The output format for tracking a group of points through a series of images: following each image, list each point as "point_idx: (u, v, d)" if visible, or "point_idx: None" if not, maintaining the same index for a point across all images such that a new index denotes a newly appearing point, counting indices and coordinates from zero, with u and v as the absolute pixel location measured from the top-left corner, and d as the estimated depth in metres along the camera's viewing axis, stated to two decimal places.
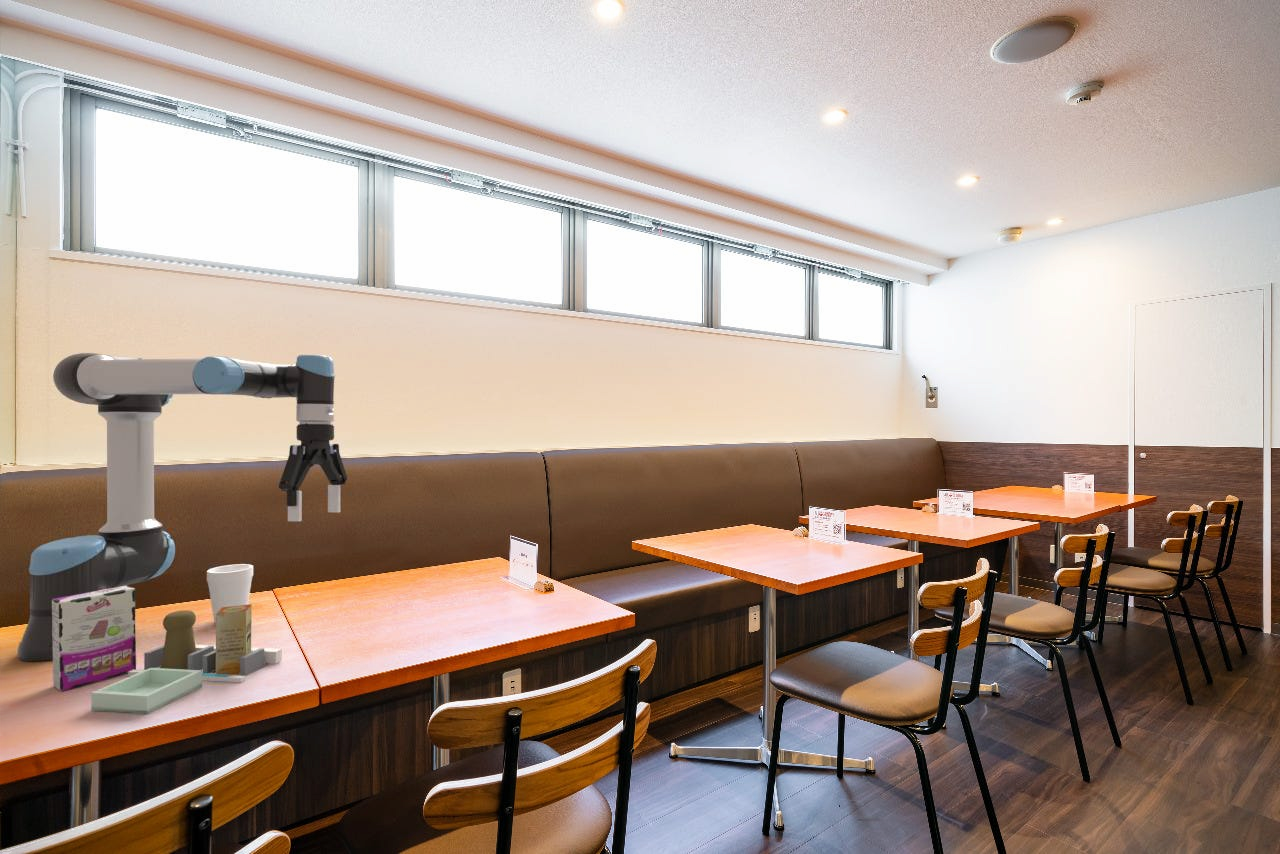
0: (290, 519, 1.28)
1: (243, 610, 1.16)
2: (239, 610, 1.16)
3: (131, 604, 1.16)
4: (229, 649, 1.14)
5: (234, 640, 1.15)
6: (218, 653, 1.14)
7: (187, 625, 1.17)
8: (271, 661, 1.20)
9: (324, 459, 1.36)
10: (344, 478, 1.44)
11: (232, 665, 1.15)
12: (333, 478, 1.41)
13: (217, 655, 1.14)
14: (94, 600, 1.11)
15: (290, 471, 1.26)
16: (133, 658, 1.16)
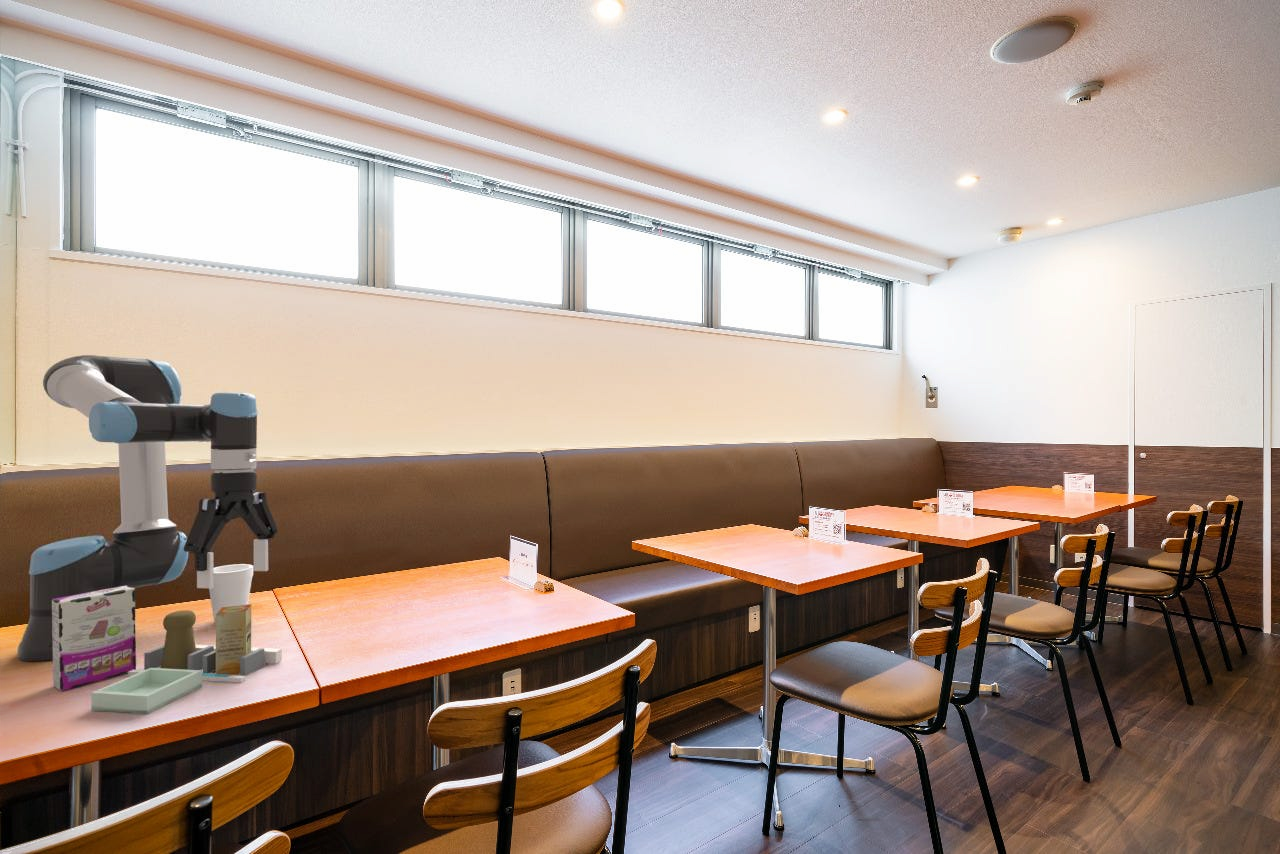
0: (200, 586, 1.10)
1: (243, 610, 1.16)
2: (239, 610, 1.16)
3: (131, 604, 1.16)
4: (228, 649, 1.14)
5: (234, 640, 1.15)
6: (218, 653, 1.14)
7: (187, 625, 1.17)
8: (271, 661, 1.20)
9: (245, 512, 1.18)
10: (273, 531, 1.26)
11: (232, 665, 1.15)
12: (259, 532, 1.23)
13: (217, 655, 1.14)
14: (94, 600, 1.11)
15: (198, 530, 1.08)
16: (133, 658, 1.16)
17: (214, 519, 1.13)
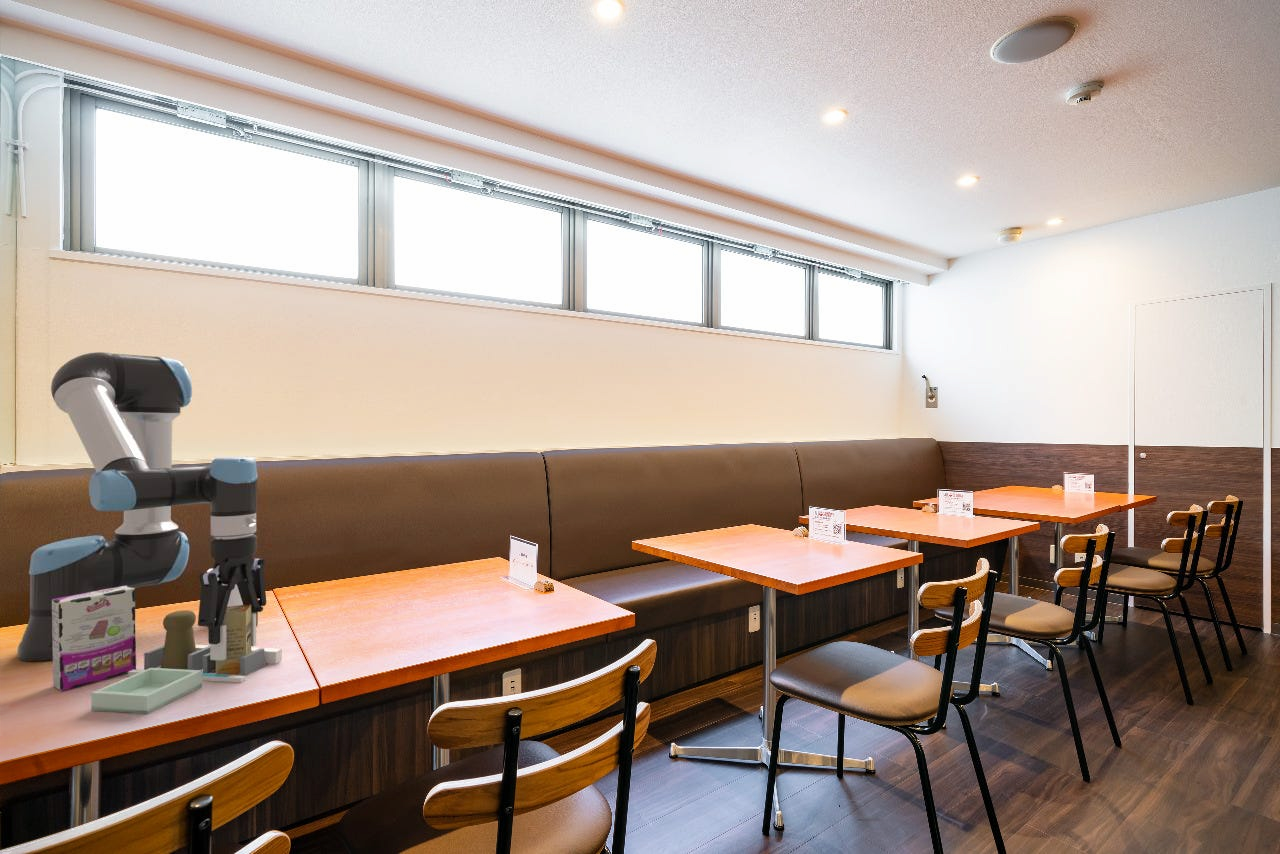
0: (213, 657, 1.13)
1: (243, 610, 1.16)
2: (239, 610, 1.16)
3: (131, 604, 1.16)
4: (228, 649, 1.14)
5: (234, 640, 1.15)
6: None
7: (186, 625, 1.17)
8: (271, 661, 1.20)
9: (245, 575, 1.18)
10: (262, 602, 1.23)
11: (232, 665, 1.15)
12: (249, 603, 1.20)
13: None
14: (94, 600, 1.11)
15: (207, 606, 1.10)
16: (133, 658, 1.16)
17: (218, 589, 1.14)
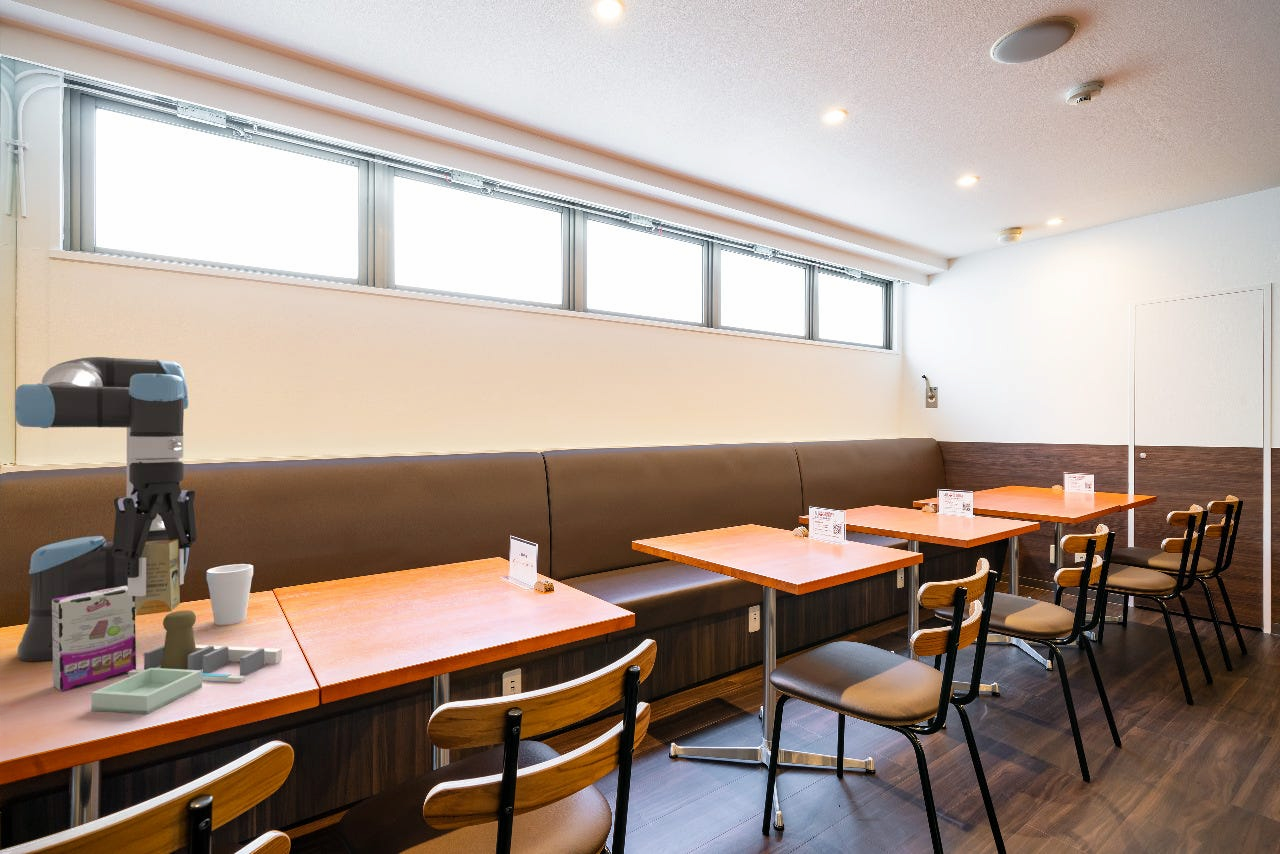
0: (131, 593, 1.02)
1: (166, 543, 1.05)
2: (162, 543, 1.05)
3: (131, 604, 1.16)
4: (150, 585, 1.03)
5: (156, 575, 1.04)
6: None
7: (187, 625, 1.17)
8: (271, 661, 1.20)
9: (170, 506, 1.07)
10: (191, 538, 1.11)
11: (155, 602, 1.03)
12: (175, 537, 1.09)
13: None
14: (94, 600, 1.11)
15: (122, 534, 0.99)
16: (133, 658, 1.16)
17: (137, 518, 1.03)
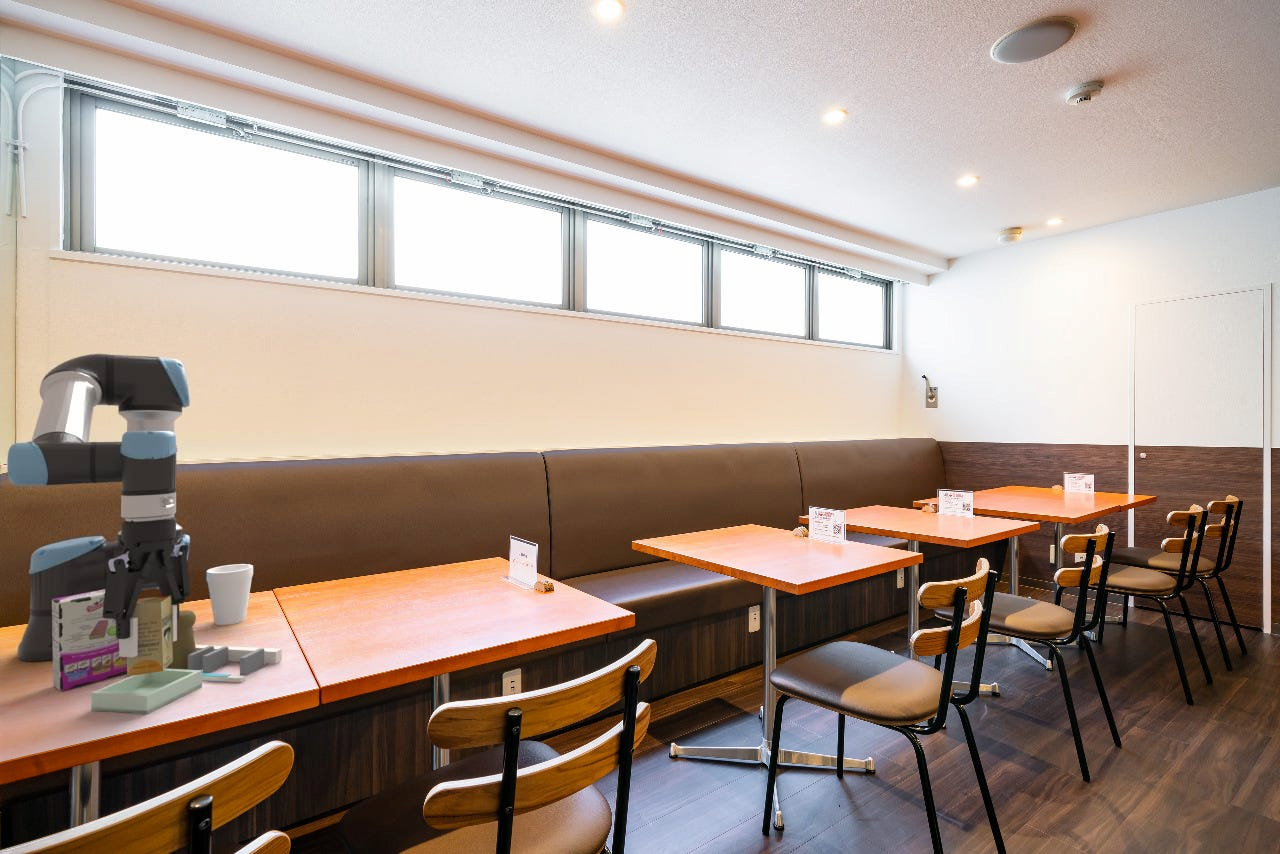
0: (122, 654, 1.00)
1: (158, 601, 1.04)
2: (154, 601, 1.04)
3: None
4: (142, 645, 1.02)
5: (148, 635, 1.02)
6: None
7: (187, 625, 1.17)
8: (271, 661, 1.20)
9: (163, 563, 1.06)
10: (185, 593, 1.10)
11: (147, 662, 1.02)
12: (168, 593, 1.08)
13: None
14: (94, 600, 1.11)
15: (113, 596, 0.98)
16: None
17: (129, 577, 1.02)
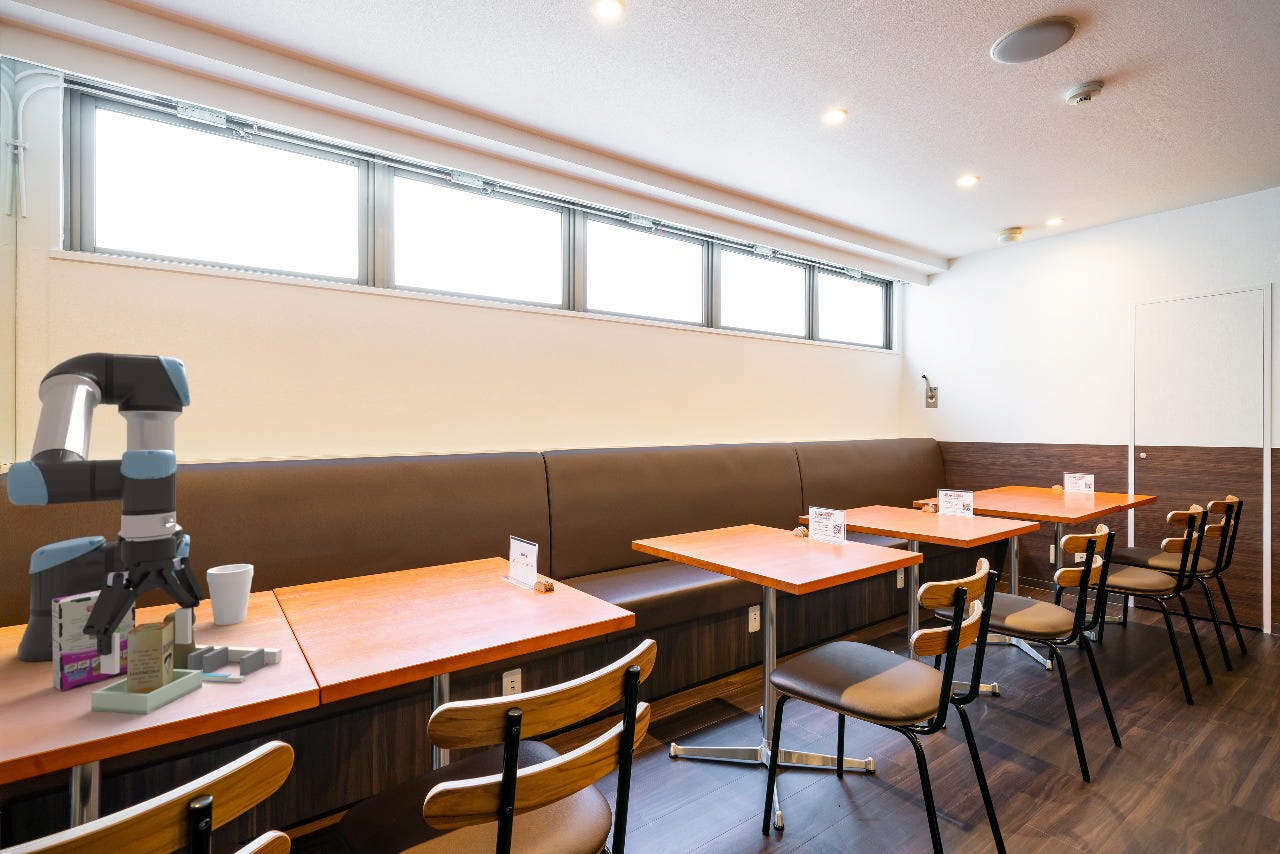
0: (104, 671, 0.98)
1: (160, 628, 1.04)
2: (155, 628, 1.04)
3: None
4: (142, 672, 1.02)
5: (148, 662, 1.02)
6: (130, 676, 1.02)
7: None
8: (271, 661, 1.20)
9: (163, 581, 1.06)
10: (199, 598, 1.13)
11: (146, 689, 1.02)
12: (181, 601, 1.11)
13: (129, 679, 1.01)
14: (94, 600, 1.11)
15: (100, 610, 0.96)
16: None
17: (123, 593, 1.00)
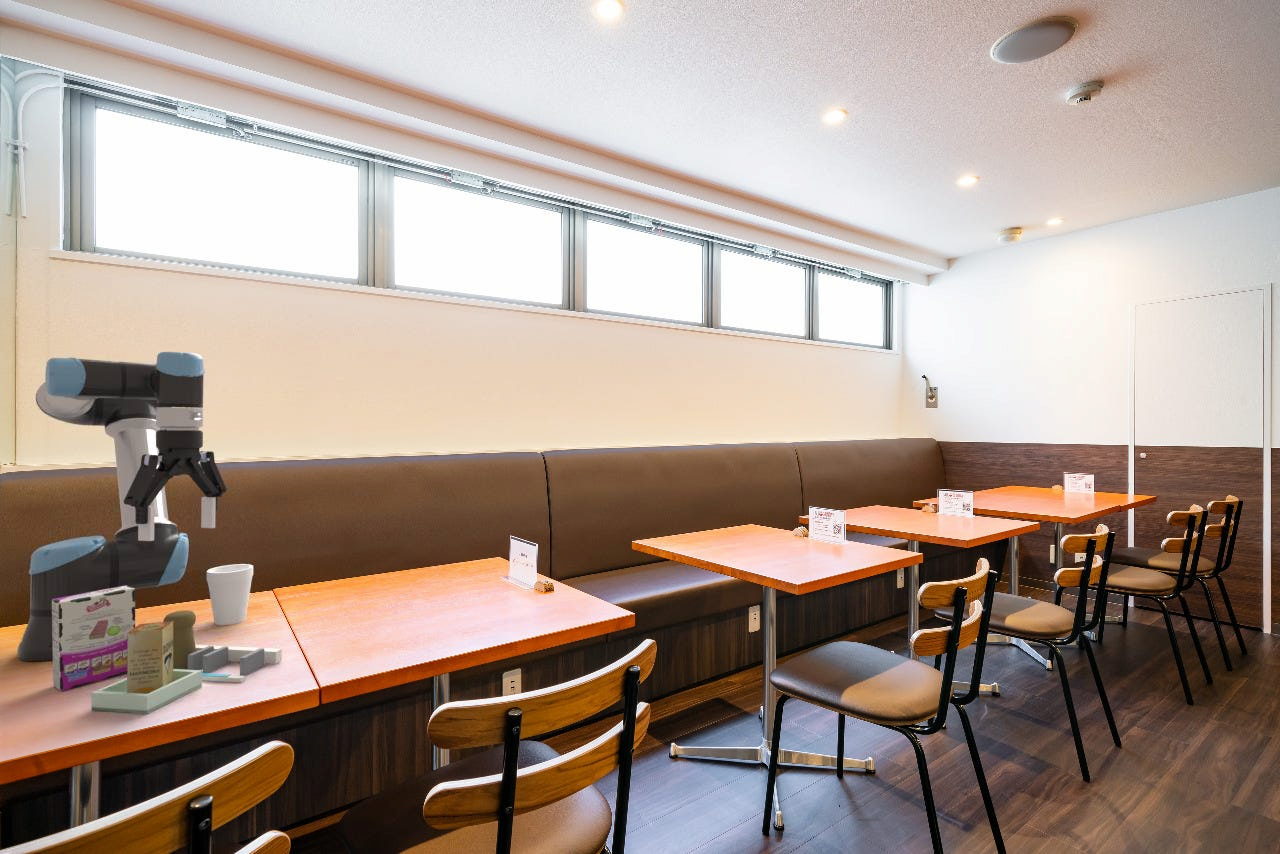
0: (141, 538, 1.13)
1: (160, 628, 1.04)
2: (155, 628, 1.04)
3: (131, 604, 1.16)
4: (142, 672, 1.02)
5: (148, 662, 1.02)
6: (130, 676, 1.02)
7: (187, 625, 1.17)
8: (271, 661, 1.20)
9: (191, 469, 1.21)
10: (222, 489, 1.29)
11: (146, 689, 1.02)
12: (207, 490, 1.26)
13: (129, 679, 1.01)
14: (94, 600, 1.11)
15: (138, 484, 1.11)
16: None
17: (157, 475, 1.16)
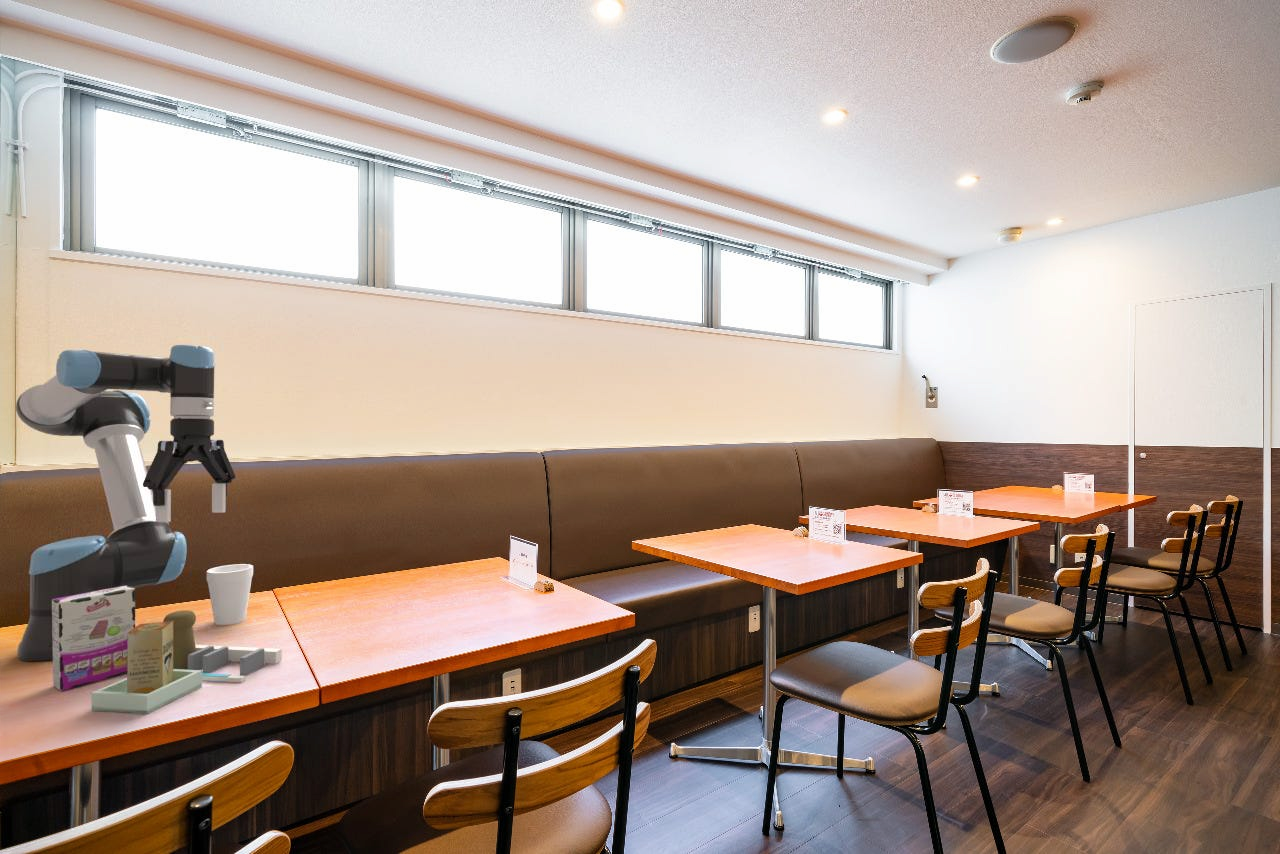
0: (158, 520, 1.20)
1: (160, 628, 1.04)
2: (155, 628, 1.04)
3: (131, 604, 1.16)
4: (142, 672, 1.02)
5: (148, 662, 1.02)
6: (130, 676, 1.02)
7: (187, 625, 1.17)
8: (271, 661, 1.20)
9: (203, 456, 1.28)
10: (231, 476, 1.36)
11: (146, 689, 1.02)
12: (217, 476, 1.33)
13: (129, 679, 1.01)
14: (94, 600, 1.11)
15: (156, 468, 1.18)
16: None
17: (172, 460, 1.23)
